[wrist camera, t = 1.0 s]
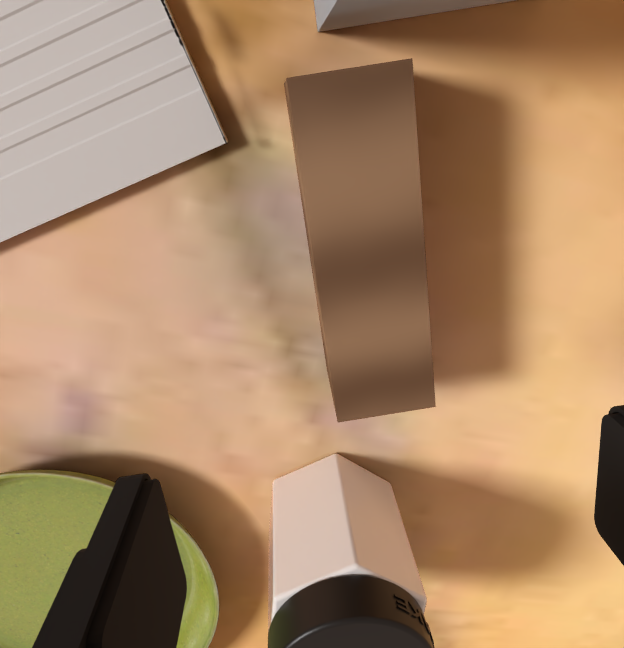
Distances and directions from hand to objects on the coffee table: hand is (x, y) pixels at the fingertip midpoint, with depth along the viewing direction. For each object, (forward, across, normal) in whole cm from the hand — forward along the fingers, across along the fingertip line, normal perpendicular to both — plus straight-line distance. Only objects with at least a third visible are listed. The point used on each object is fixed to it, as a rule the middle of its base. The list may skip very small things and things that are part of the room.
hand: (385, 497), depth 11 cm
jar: (+21, +1, +17) cm, 27 cm away
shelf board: (+20, -2, -1) cm, 20 cm away
